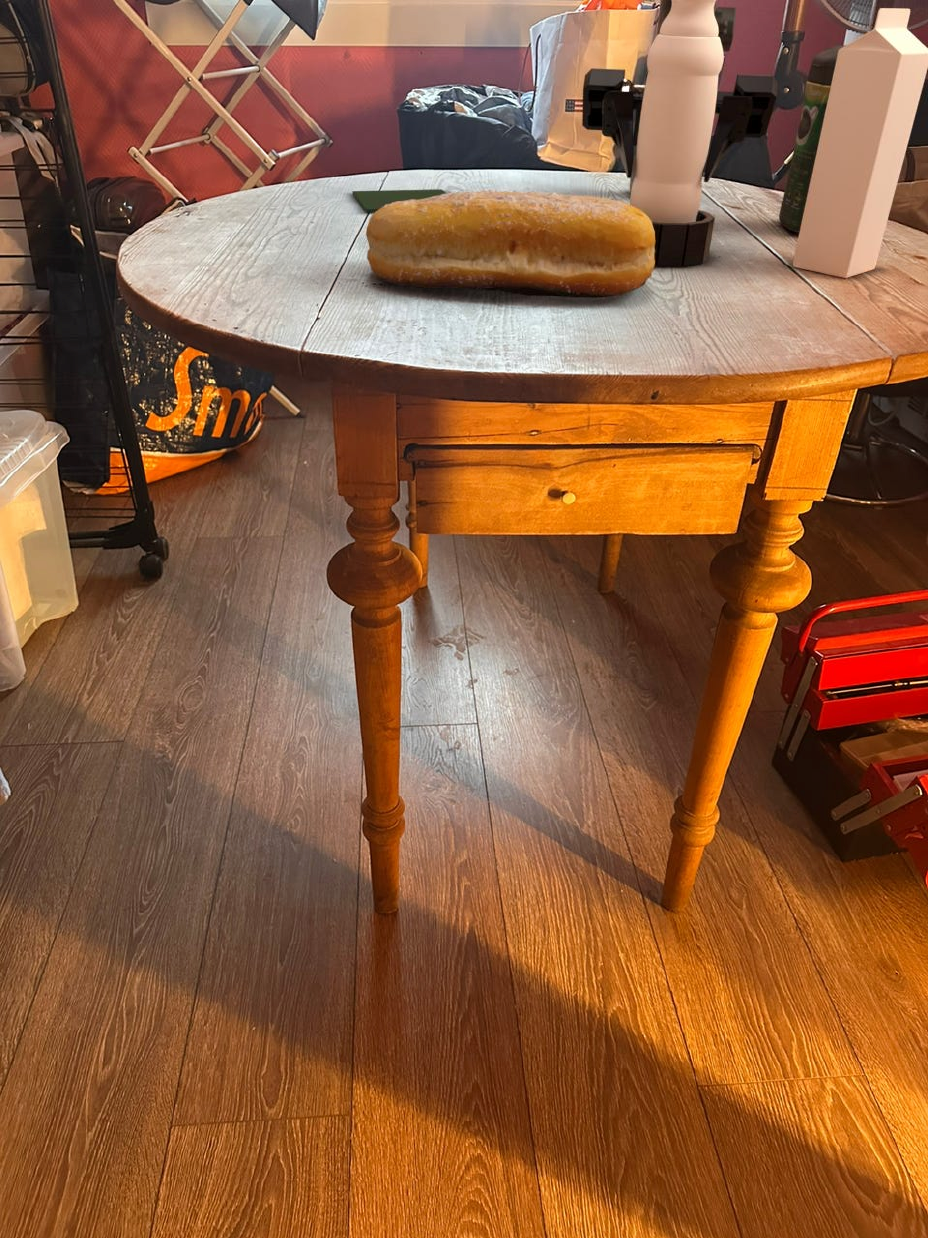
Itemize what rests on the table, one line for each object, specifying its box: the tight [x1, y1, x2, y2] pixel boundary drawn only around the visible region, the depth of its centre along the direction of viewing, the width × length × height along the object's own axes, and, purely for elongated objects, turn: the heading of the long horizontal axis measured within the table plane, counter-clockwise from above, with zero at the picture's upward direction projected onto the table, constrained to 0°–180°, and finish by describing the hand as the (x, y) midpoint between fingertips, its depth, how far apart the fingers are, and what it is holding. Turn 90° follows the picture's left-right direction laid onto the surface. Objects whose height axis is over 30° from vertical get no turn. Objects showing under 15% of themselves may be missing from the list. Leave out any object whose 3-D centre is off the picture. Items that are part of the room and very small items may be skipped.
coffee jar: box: [778, 44, 847, 234], centre depth 103 cm, size 10×8×19 cm
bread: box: [365, 189, 655, 299], centre depth 83 cm, size 13×26×8 cm, turn 84°
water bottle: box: [629, 0, 725, 223], centre depth 89 cm, size 7×7×25 cm
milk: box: [792, 7, 928, 279], centre depth 87 cm, size 6×6×22 cm
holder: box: [652, 209, 716, 268], centre depth 95 cm, size 10×10×4 cm
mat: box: [352, 188, 448, 214], centre depth 117 cm, size 12×12×1 cm
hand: (667, 176), depth 91 cm, fingers open, 7 cm apart
